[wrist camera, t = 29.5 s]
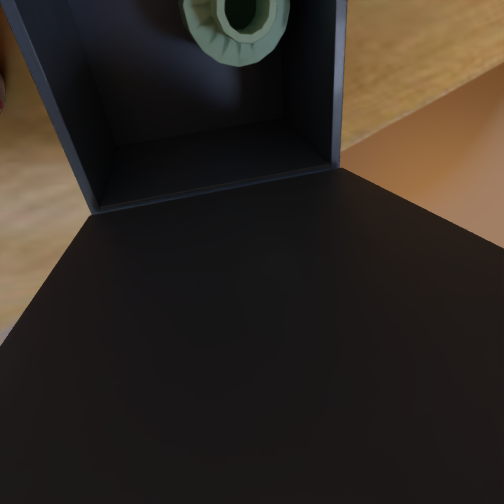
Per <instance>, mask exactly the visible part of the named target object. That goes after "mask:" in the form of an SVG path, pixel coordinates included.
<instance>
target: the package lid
mask: <svg viewBox="0 0 504 504" xmlns="http://www.w3.org/2000/svg"><path fill="white" fill-rule="evenodd" d="M0 504H504V248H502V247H499V246H498V245H496V244H494V243H492V242H490V241H487V240H485V239H483V238H482V237H480V236H478V235H476V234H474V233H472V232H470V231H467V230H466V229H464V228H462V227H459V226H458V225H456V224H453V223H452V222H450V221H448V220H446V219H443V218H442V217H440V216H438V215H436V214H434V213H432V212H430V211H428V210H426V209H424V208H422V207H420V206H418V205H416V204H414V203H412V202H410V201H408V200H406V199H404V198H402V197H399V196H398V195H396V194H394V193H392V192H390V191H388V190H386V189H384V188H382V187H380V186H378V185H376V184H374V183H372V182H370V181H368V180H366V179H364V178H362V177H360V176H358V175H356V174H354V173H352V172H350V171H348V170H346V169H344V168H338V169H332V170H327V171H322V172H317V173H311V174H306V175H301V176H296V177H290V178H285V179H280V180H275V181H269V182H264V183H259V184H254V185H248V186H243V187H238V188H232V189H227V190H222V191H217V192H211V193H206V194H201V195H196V196H190V197H185V198H180V199H175V200H169V201H164V202H159V203H154V204H148V205H143V206H138V207H132V208H127V209H122V210H117V211H111V212H106V213H101V214H96V215H90V216H89V217H88V219H87V220H86V222H85V223H84V225H83V226H82V228H81V229H80V230H79V232H78V233H77V235H76V236H75V238H74V239H73V241H72V242H71V244H70V245H69V247H68V248H67V249H66V251H65V252H64V254H63V255H62V257H61V258H60V260H59V261H58V263H57V264H56V266H55V267H54V268H53V270H52V271H51V273H50V274H49V276H48V277H47V279H46V280H45V282H44V283H43V285H42V286H41V287H40V289H39V290H38V292H37V293H36V295H35V296H34V298H33V299H32V301H31V302H30V304H29V305H28V307H27V308H26V309H25V311H24V312H23V314H22V315H21V317H20V318H19V320H18V321H17V323H16V324H15V326H14V327H13V329H12V330H11V331H10V333H9V334H8V336H7V337H6V339H5V340H4V342H3V343H2V345H1V346H0Z"/></svg>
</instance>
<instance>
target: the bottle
mask: <svg viewBox="0 0 504 504" xmlns="http://www.w3.org/2000/svg"><path fill="white" fill-rule="evenodd" d="M178 6H179V10H180V15H181V18H182V22H183V24H184V26H185V28H186V29H187V31H188V32H189V34H190V35H191V37H192V38H193V40H194V41H195V42H196V44H197V45H198V46H199V47H200V49H201V50H202V51H203V52H204V53H206V54H207V55H209V56H210V57H211V58H213V59H214V60H216V61H217V62H218V63H220V64H225V65H231V66H236V67H241V66H245V65H249V64H253V63H257V62H259V61H260V60H261V59H263V58H264V57H265V56H266V55H268V54H269V53H270V52H272V51H273V49H275V47H276V45H277V43H278V42H279V40H280V38H281V37H282V35H283V33H284V32H285V29H286V25H287V20H288V15H289V11H290V0H178Z"/></svg>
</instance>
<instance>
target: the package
mask: <svg viewBox="0 0 504 504" xmlns="http://www.w3.org/2000/svg"><path fill="white" fill-rule="evenodd" d="M0 3H1V6H2V8H3V10H4V13H5V15H6V17H7V20H8V22H9V24H10V27H11V29H12V31H13V34H14V36H15V38H16V40H17V43H18V45H19V47H20V50H21V52H22V54H23V57H24V59H25V61H26V64H27V66H28V68H29V71H30V73H31V75H32V78H33V80H34V82H35V84H36V87H37V89H38V91H39V94H40V96H41V98H42V101H43V103H44V105H45V108H46V110H47V112H48V115H49V117H50V119H51V121H52V124H53V126H54V128H55V131H56V133H57V135H58V138H59V140H60V142H61V145H62V147H63V149H64V152H65V154H66V156H67V158H68V161H69V163H70V165H71V168H72V170H73V172H74V175H75V177H76V179H77V182H78V184H79V186H80V189H81V191H82V193H83V195H84V198H85V200H86V202H87V205H88V207H89V209H90V212H91V214H92V215H96V214H101V213H106V212H111V211H117V210H122V209H127V208H132V207H138V206H143V205H148V204H154V203H159V202H164V201H169V200H175V199H180V198H185V197H190V196H196V195H201V194H206V193H211V192H217V191H222V190H227V189H232V188H238V187H243V186H248V185H254V184H259V183H264V182H269V181H275V180H280V179H285V178H290V177H296V176H301V175H306V174H311V173H317V172H322V171H327V170H332V169H338V168H339V167H340V146H341V125H342V103H343V82H344V60H345V39H346V17H347V0H290V11H289V15H288V20H287V25H286V29H285V32H284V33H283V35H282V37H281V38H280V40H279V42H278V43H277V45H276V47H275V49H273V51H272V52H270V53H269V54H268V55H266V56H265V57H264V58H263V59H261V60H260V61H259V62H257V63H253V64H249V65H245V66H241V67H236V66H231V65H225V64H220V63H218V62H217V61H216V60H214V59H213V58H211V57H210V56H209V55H207V54H206V53H204V52H203V51H202V50H201V49H200V47H199V46H198V45H197V44H196V42H195V41H194V40H193V38H192V37H191V35H190V34H189V32H188V31H187V29H186V28H185V26H184V24H183V22H182V18H181V15H180V10H179V6H178V0H0Z"/></svg>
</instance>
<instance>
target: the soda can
mask: <svg viewBox="0 0 504 504" xmlns="http://www.w3.org/2000/svg"><path fill="white" fill-rule="evenodd" d="M5 97H6V91H5V85H4V81H3V78H2V75H1V73H0V113H1V112H2V109H3V107H4V103H5Z"/></svg>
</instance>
